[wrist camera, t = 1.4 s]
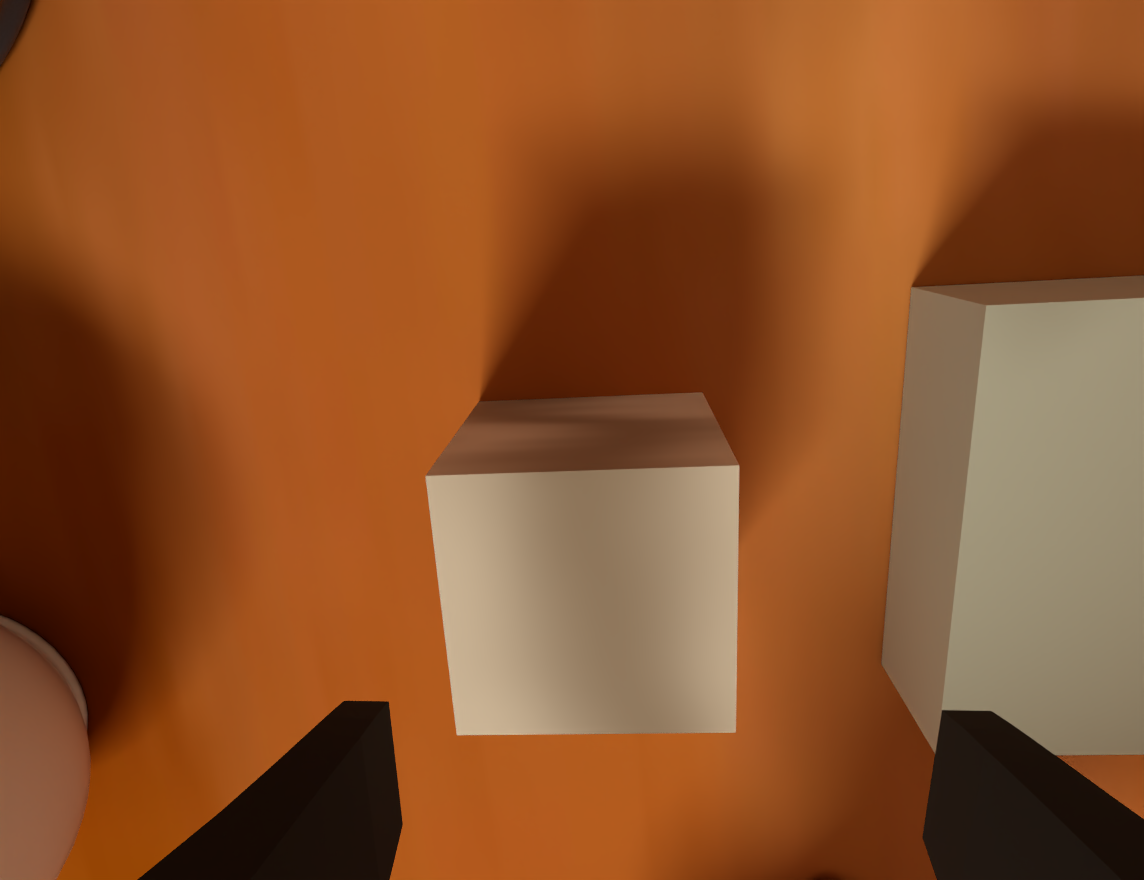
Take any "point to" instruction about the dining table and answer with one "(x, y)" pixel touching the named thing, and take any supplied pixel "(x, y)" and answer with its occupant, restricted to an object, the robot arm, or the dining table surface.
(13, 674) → the lidded jar
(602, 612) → the cream cube
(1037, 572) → the sage pedestal
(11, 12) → the canister
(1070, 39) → the dining table surface
